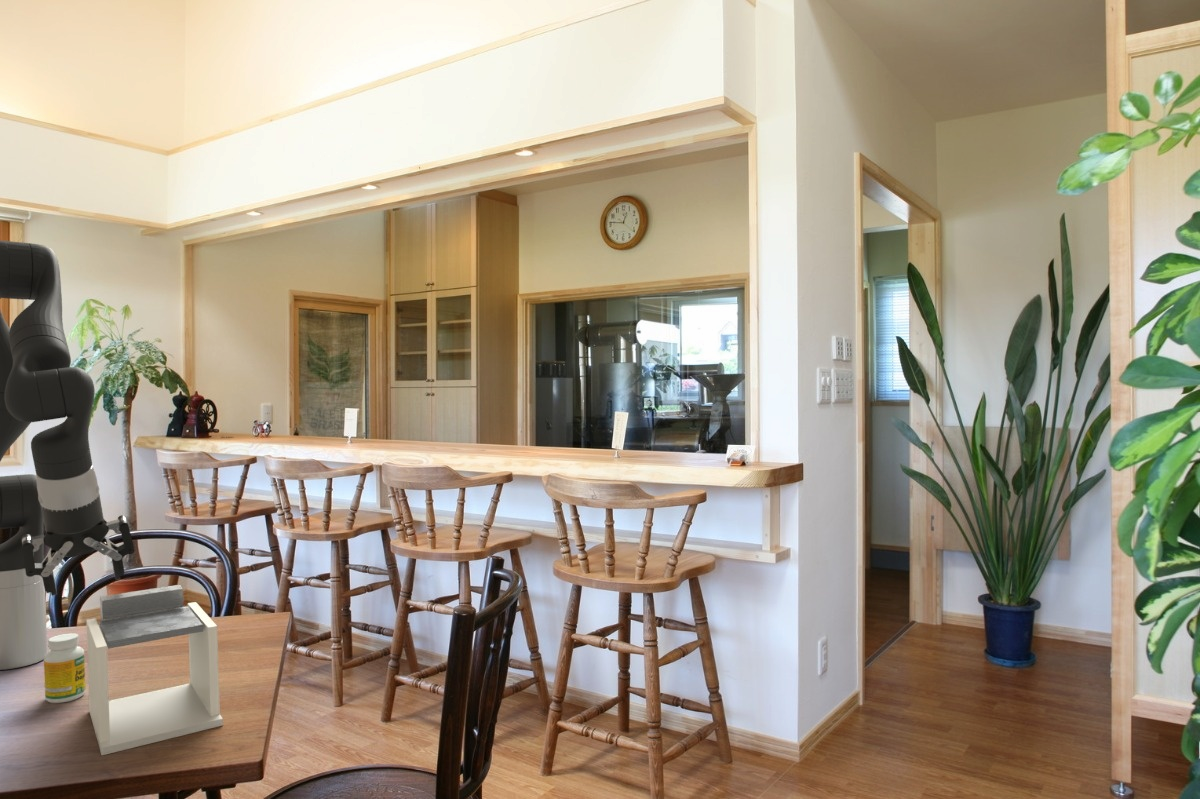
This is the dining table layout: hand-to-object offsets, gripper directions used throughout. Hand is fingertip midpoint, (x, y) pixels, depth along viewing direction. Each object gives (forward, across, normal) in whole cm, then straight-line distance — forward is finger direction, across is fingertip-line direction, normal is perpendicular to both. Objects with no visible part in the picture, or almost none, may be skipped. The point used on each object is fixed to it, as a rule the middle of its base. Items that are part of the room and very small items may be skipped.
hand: (86, 584), depth 128 cm
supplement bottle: (+17, +5, +4) cm, 19 cm away
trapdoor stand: (+12, -5, +20) cm, 24 cm away
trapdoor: (+1, -7, +14) cm, 15 cm away
